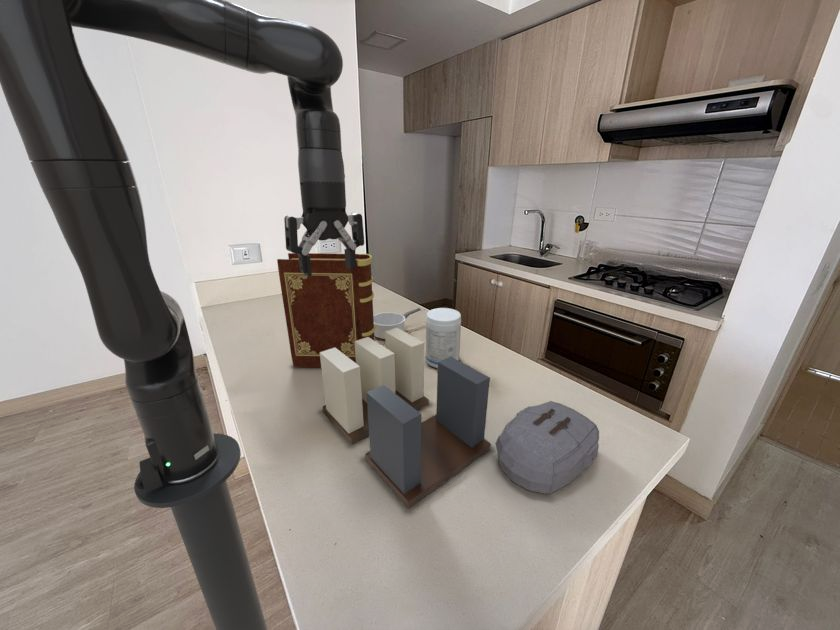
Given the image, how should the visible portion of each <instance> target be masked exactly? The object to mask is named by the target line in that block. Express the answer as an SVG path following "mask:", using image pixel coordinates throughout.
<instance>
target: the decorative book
mask: <svg viewBox="0 0 840 630" xmlns="http://www.w3.org/2000/svg"><path fill="white" fill-rule="evenodd" d="M355 254H356V265H355V266H354V269H347V268H346V267H345V253H321V252H319V253H318V252H317V253H314V252H313V253H311V252H309V253H308V255H309V256H310V261H311V271H312V275H311V276H306V275H304V273H303V272H301V270H300V265H299V256H298V254H297V253H292V252H288V253H287V257H288V258H287V259H286V258H277V260H276V262H277V270H278V275H279V276H278V277H279V283H280V291H281V297H282V303H283V309H284V317H285V323H286V331H287V337H288V343H289V349H290V356H291V362H292V366H293V367H294V368H320V369H321V360H320V352H322V351H325V350H329V349H332V348H337V349H338V350H339V351H341V352H342V353H343V354H344V355H346V356H347V357H348V358H350V359H351V360H352V361H353V362H355V363H356V355H355V341H357V340H360V339H363V338H366V337H369V338H371V339H372V340H374V341H376V342H377V339H376V336H374V331H375V324H374V319H373V316H374V304H373V303H374V300H373V299H374V297H375V293H374V291H373V283H374V277H373V276H372V263H373V256H372V255H371V254H369V253H355Z"/></svg>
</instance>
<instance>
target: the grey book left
mask: <svg viewBox="0 0 840 630" xmlns="http://www.w3.org/2000/svg"><path fill="white" fill-rule="evenodd" d="M367 407H368V424H369V436H368V438H369V440H368V441H369V451H370V457H371V459H372V460H373V461H374V462H375V463H376V464H377V465H378V466H379V468H380V469H381V470H382V471H383V472H384V473H385V474H386V475H387V476H388V477H389V479H390V480H391V481H392V482H393V483H394V484H395V485H396V486H397V487H398V488H399V489H400V491H401V492H402V493H403V494H406V493H407V492H408V491H410V490H411V489H413V488H414V487H416V486H417V485H419V484H420V483H421V423H422V413H421V412H419V410H416V409H414V408H413V407H412V406H410V405H409V404H408V403H407V402H405V401H404V400H403V399H401V398H400V397H399V396H397V395H396V394H395V393H394V392H392V391H391V390H390V389H388V388H387V387H386V386H385V385H383V386H381V387H378V388H376V389H374V390H371V391H369V392H367Z"/></svg>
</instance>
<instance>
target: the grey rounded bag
mask: <svg viewBox="0 0 840 630" xmlns="http://www.w3.org/2000/svg"><path fill="white" fill-rule="evenodd" d="M599 441H600V430H599V428H598V425H597V424H596V423H595V422H594V421H593V420H591V419H590V418H589V417H588V416H585V415H584V414H582V413H581V412H579V411H578V410H575V409H574V408H571V407H569V406H567V405H565V404H562V403H560V402H556V401H552V400H549V401H545V402H543V403H540V404H538V405H531V406H526V408H523V409H522V410H520V411H519V412H517V413H516V415H515V417H513V418H512V419H511V420H510V421H509V422H508V423H506V424H505V426H504V428H503V430H502V432H501V434H499V436H498V437H497V439H496V441H495V448H496V453H497V457H498V462H499V464H500V469H501V470H502V471H503V473H504V474H505V475H506V476H507V477H508V479H510V480H511V482H513V483H514V484H516V485H518V486H520V487H522V488H523V489H525V490H528V491H530V492H535V493H542V494H543V493H544V494H552V493H553V492H555V491H557V490H560V489H561V488H563V487H565V486H567V485H569V484H571V482H572V481H574V479H576V478H577V477H578V476H579V475H580V474H581V473H583V471H584V470H585V469H589V467H590V466H592V465H593V464H594V463H595V460H596V459H597V457H598V452H599V445H600V444H599Z"/></svg>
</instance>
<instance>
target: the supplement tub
mask: <svg viewBox="0 0 840 630" xmlns="http://www.w3.org/2000/svg"><path fill="white" fill-rule="evenodd" d="M461 330H462V315H461V312H460V311H458V310H457V309H453V308H449V307H437V308H433V309H430V310H428V311H427V312H426V316H425V362H426V364H427V365H429V366H430V367H432V368H435V369H438V362H439V361H441V360H444V359H446V358H448V357H453V358H455V359H456V360H458V361H460V351H461V334H462V333H461V332H462V331H461Z"/></svg>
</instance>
